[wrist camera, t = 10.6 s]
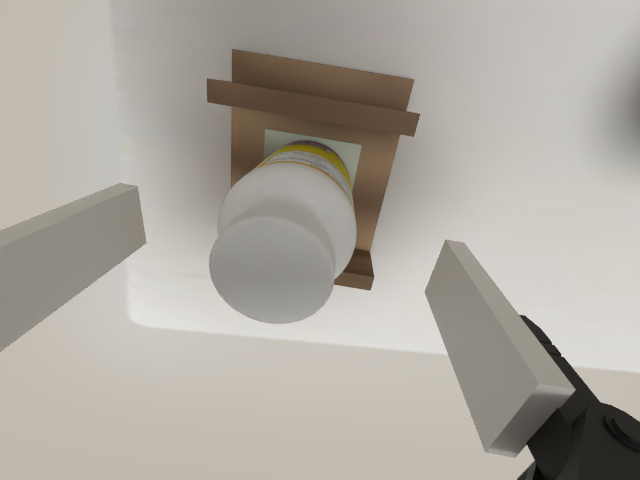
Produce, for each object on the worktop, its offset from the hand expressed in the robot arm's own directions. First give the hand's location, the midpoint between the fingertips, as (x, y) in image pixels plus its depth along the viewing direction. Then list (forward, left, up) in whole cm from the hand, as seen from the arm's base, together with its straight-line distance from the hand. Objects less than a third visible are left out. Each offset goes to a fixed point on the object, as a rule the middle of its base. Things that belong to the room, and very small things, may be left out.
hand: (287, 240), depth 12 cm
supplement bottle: (0, 0, -11) cm, 11 cm away
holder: (0, 0, -12) cm, 12 cm away
